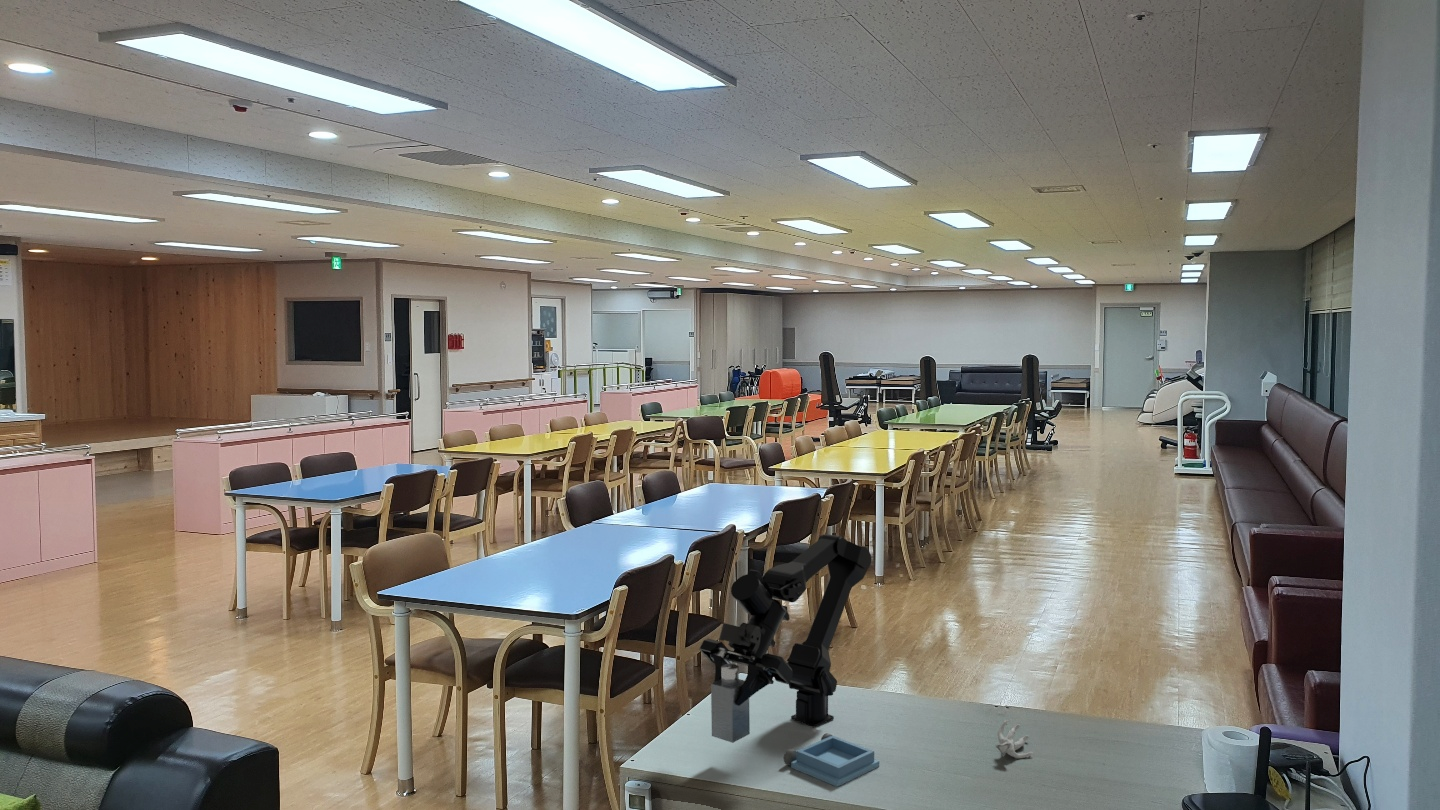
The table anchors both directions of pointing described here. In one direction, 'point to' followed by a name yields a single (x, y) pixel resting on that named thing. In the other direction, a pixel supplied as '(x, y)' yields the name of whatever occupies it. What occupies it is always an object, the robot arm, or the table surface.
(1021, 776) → the table surface
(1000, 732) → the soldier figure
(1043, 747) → the table surface
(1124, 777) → the table surface
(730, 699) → the square bottle with cap
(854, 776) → the chassis
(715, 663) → the robot arm
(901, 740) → the table surface
